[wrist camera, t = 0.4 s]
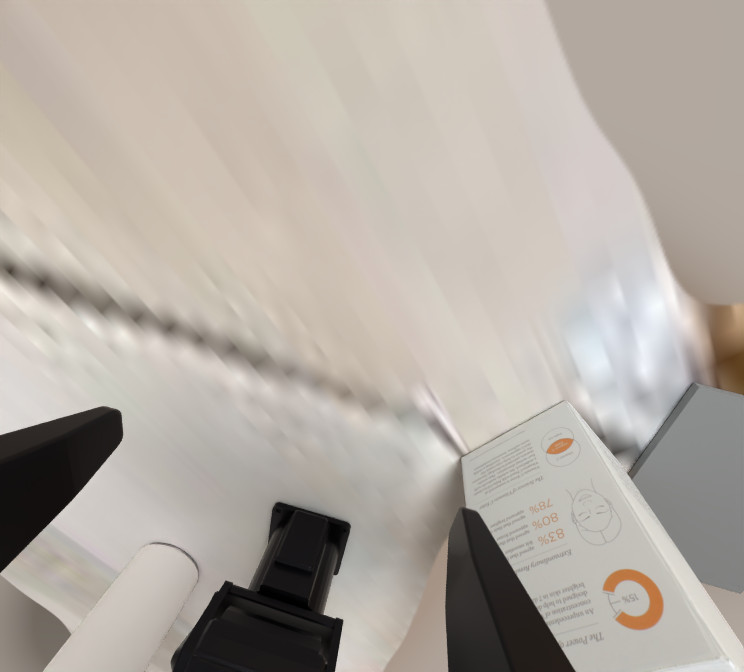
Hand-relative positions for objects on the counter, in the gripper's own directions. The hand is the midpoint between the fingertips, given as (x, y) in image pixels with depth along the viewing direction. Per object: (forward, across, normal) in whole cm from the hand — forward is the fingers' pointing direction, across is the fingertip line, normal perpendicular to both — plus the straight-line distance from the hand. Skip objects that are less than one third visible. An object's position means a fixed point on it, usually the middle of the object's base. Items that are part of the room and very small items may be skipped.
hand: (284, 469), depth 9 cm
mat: (+13, -24, +6) cm, 28 cm away
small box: (+14, -13, +7) cm, 20 cm away
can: (+14, +14, +31) cm, 37 cm away
